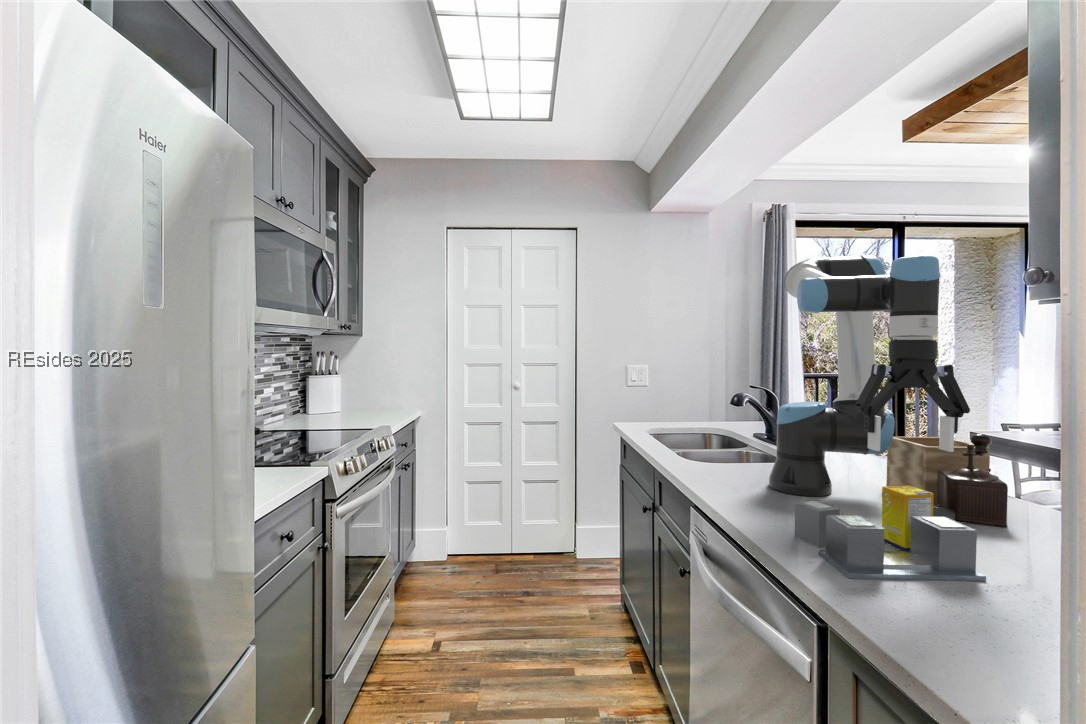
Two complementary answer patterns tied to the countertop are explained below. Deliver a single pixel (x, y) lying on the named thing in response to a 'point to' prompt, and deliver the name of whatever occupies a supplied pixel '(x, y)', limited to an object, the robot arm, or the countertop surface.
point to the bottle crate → (926, 462)
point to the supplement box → (903, 513)
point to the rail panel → (932, 555)
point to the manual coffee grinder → (974, 490)
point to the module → (812, 521)
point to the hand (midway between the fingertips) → (909, 450)
